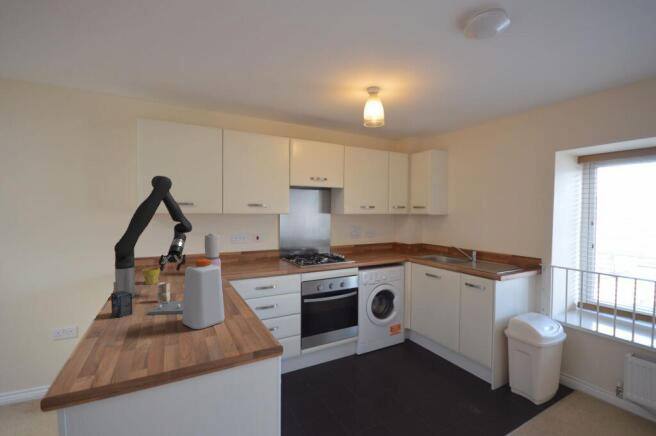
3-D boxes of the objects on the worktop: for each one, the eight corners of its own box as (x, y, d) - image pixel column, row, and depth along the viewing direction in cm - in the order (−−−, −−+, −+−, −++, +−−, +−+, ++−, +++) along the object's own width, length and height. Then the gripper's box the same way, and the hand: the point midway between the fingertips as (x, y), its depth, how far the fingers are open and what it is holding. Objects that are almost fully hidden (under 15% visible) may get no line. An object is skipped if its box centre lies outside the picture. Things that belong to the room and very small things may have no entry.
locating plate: (148, 314, 144) (148, 307, 143) (163, 304, 159) (163, 297, 159) (183, 313, 145) (183, 306, 145) (194, 303, 161) (194, 296, 161)
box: (111, 315, 143) (110, 293, 143) (124, 311, 148) (123, 290, 148) (119, 318, 140) (119, 295, 139) (132, 314, 145) (132, 292, 144)
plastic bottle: (210, 314, 145) (210, 256, 144) (228, 321, 135) (227, 259, 134) (178, 323, 133) (177, 260, 132) (195, 332, 123) (194, 264, 123)
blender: (216, 276, 226) (215, 234, 225) (201, 276, 227) (200, 234, 227) (225, 272, 242) (225, 232, 241) (211, 271, 243) (210, 232, 242)
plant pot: (139, 284, 204) (138, 269, 203) (154, 280, 213) (153, 267, 213) (148, 285, 199) (148, 271, 199) (163, 282, 208) (163, 268, 208)
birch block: (157, 302, 163) (157, 284, 162) (161, 300, 167) (161, 282, 167) (166, 302, 163) (166, 284, 163) (169, 299, 168) (169, 282, 167)
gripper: (162, 244, 180) (154, 267, 169) (187, 244, 182) (180, 266, 171) (166, 251, 186) (158, 274, 174) (190, 251, 187) (184, 273, 176)
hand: (169, 270), depth 173 cm, fingers open, 8 cm apart
